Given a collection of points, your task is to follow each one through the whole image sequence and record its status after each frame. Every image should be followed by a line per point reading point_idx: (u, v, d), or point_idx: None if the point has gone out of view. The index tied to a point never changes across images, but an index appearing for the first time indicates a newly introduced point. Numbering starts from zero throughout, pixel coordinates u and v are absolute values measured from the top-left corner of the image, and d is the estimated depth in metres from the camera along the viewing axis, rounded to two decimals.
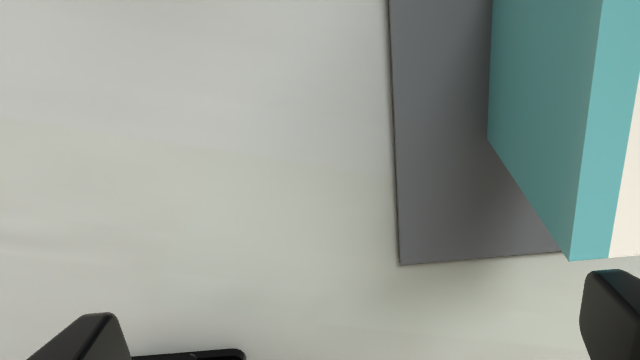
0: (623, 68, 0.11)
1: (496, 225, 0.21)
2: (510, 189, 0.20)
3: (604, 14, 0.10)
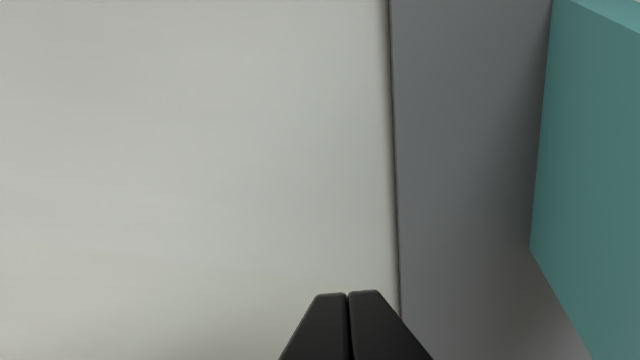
0: None
1: (536, 355, 0.15)
2: (558, 311, 0.15)
3: None
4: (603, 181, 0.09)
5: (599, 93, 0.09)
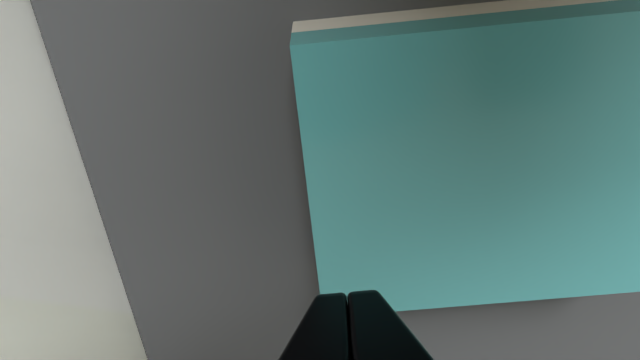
0: None
1: None
2: (292, 333, 0.15)
3: None
4: (460, 164, 0.11)
5: (430, 99, 0.10)
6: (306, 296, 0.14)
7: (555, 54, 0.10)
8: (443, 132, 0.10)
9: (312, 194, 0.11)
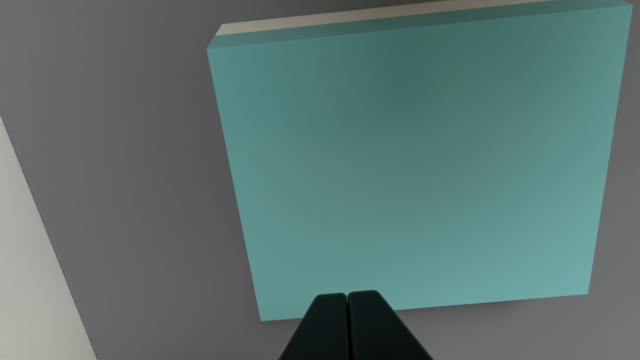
0: None
1: None
2: (242, 336, 0.15)
3: (628, 26, 0.09)
4: (388, 168, 0.11)
5: (352, 103, 0.10)
6: (253, 299, 0.14)
7: (476, 56, 0.10)
8: (368, 135, 0.10)
9: (241, 198, 0.11)
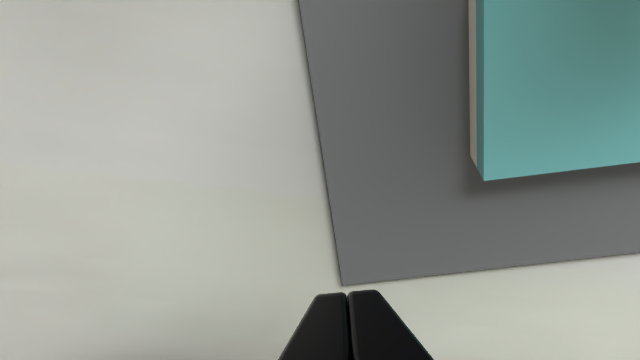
0: None
1: (433, 245, 0.21)
2: (443, 210, 0.20)
3: None
4: (589, 61, 0.16)
5: (572, 16, 0.15)
6: (456, 179, 0.20)
7: None
8: (579, 39, 0.16)
9: (486, 87, 0.16)
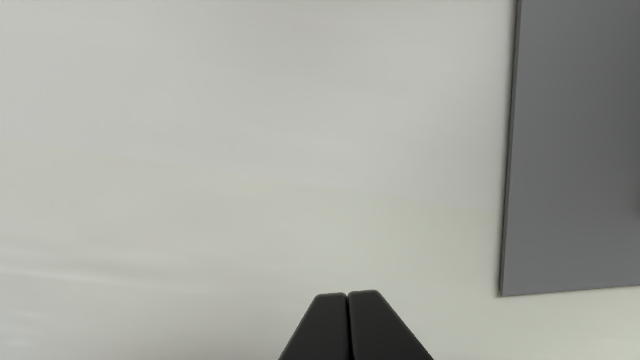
0: None
1: (598, 259, 0.22)
2: (615, 225, 0.21)
3: None
4: None
5: None
6: (634, 196, 0.20)
7: None
8: None
9: None
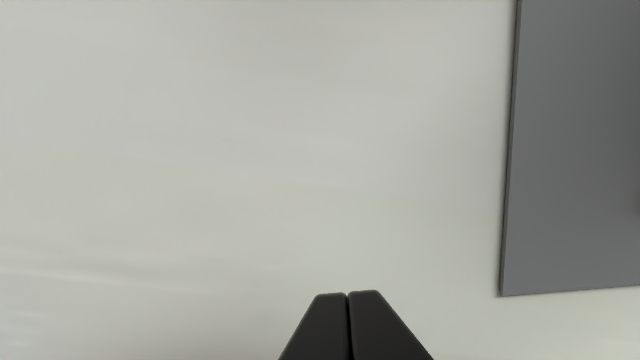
0: None
1: (598, 259, 0.22)
2: (615, 225, 0.21)
3: None
4: None
5: None
6: (634, 196, 0.20)
7: None
8: None
9: None
